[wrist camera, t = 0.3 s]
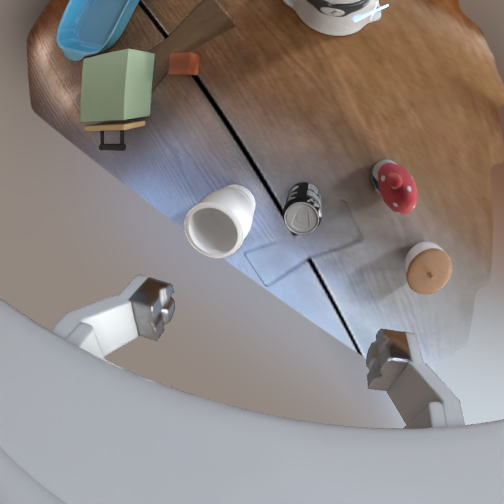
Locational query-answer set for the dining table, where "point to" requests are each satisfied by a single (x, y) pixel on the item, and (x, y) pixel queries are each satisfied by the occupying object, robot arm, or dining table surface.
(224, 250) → the jar
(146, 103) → the cabinet
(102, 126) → the drawer
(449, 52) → the dining table surface
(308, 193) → the beverage can
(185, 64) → the block
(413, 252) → the trinket box
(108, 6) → the casserole dish
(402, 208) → the decorative ornament
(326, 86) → the dining table surface
